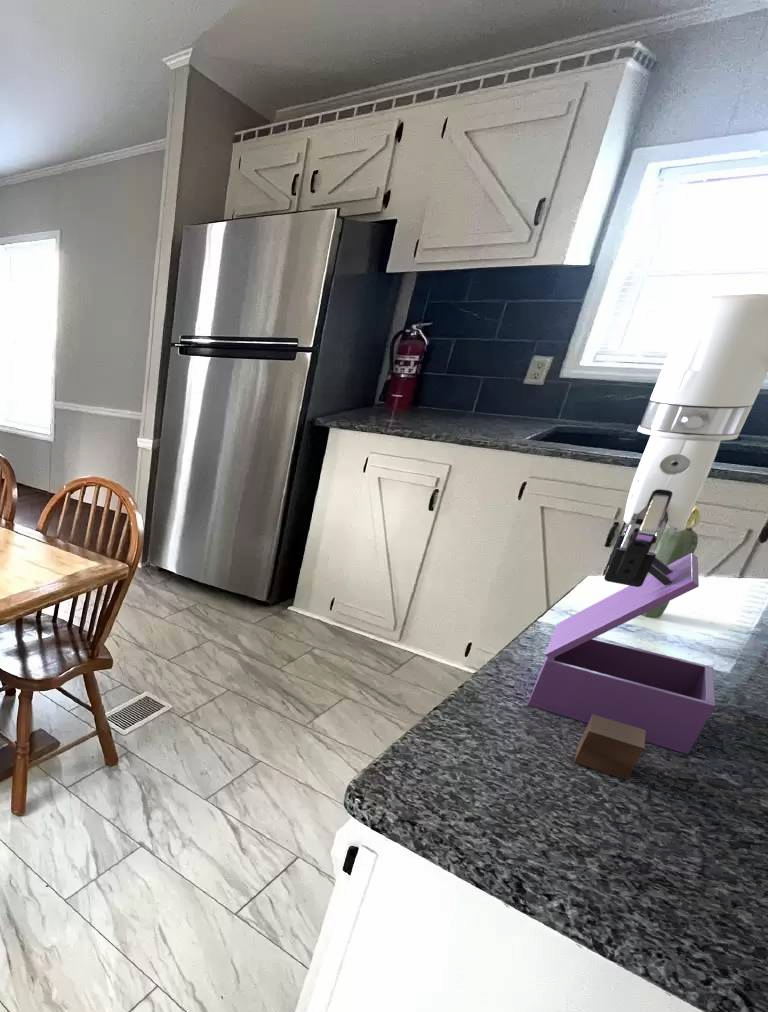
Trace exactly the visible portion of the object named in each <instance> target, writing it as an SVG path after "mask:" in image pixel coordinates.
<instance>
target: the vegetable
mask: <svg viewBox="0 0 768 1012" xmlns="http://www.w3.org/2000/svg"><path fill="white" fill-rule="evenodd" d="M698 505H699V504H698V503H697V502H696V503H695V505H694V508H693V510H692V512H691V515H690V517H689V520H688V522H687V524H686V527H685V529H684V530H682V531H679V532H675V531H674V528H669V527H668V528H665V530H664V532H663V534H662V536H661V538H660V541H659V543H658V545H657V548H656V550H655V552H654V554H656V557H657V558H658V559H659V560H661V561H662V562H663V563H664V564H666V565H667V566H668V565H669V564H671V563H673V562H675V561H677V560H679V559H681V558H683V557H685V556H687V555H688V554H690V553H693V554H694V553H695V551H696V549H697V546H698V542H699V537H698V534H697V532H695V530H694V529H693V528H695V527H697V526H698V525H699V523H700V522H701V512H700V510H699V508H698ZM649 575H651V574H650V573H649V572H648V574H647V576H649ZM647 576H646V577H647ZM669 604H670V601H668V602H666V603H664V604H662V605H660V606H658V607H656V608H654V609H652V610H650V611H648V612H646V613H644V614H642V615H641V616H642V617H645V618H652V619H657V618H660V617H662V616H663V614H664V612H665V611H666V609H667V608H668V606H669Z"/></svg>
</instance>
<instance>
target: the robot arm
mask: <svg viewBox="0 0 768 1012" xmlns="http://www.w3.org/2000/svg"><path fill="white" fill-rule="evenodd" d="M658 375H659V376H658V378H657V381H656V383H655V386H654V388H653V391H652V393H651V396H650V398H649V401H648V403H647V406H646V407H645V410H644V413H643V415H642V418H641V420H640V422H639V424H638V427H637V430H636V431H637V432H638V433H641V434H644V435H648V436H649V439H648V441H647V444H646V446H645V449H644V451H643V454H642V455H641V458H640V462H639V463H638V466H637V469H636V471H635V474H634V477H633V480H632V483H631V486H630V489H629V491H628V496H627V500H626V505H625V509H624V515H623V522H624V523H625V524H626V526H625V528H624V530H623V533H622V534H619V536H618V538H617V541H616V543H615V546H614V548H613V550H612V553H611V555H610V557H609V560H608V562H607V566H608V568H607V570H606V572H605V574H604V581H605V582H610V583H614V584H619V585H624V586H635V587H640V586H642V585H643V582H644V580H645V578H646V576H647V574H648V571H649V569H650V567H651V565H652V563H653V560H654V558H655V556H656V554H654V552H655V550H656V548H657V545H658V543H659V541H660V538H661V536H662V534H663V532H664V530H666V526H667V525H668V528H674V531H675V532H679V531H682V530H684V529H685V527H686V524H687V522H688V520H689V517H690V515H691V512H692V510H693V508H694V505H695V503H697V501H698V498H699V496H700V494H701V492H702V490H703V487H704V486H705V482H706V481H707V478H708V476H709V474H710V471H711V468H712V466H713V464H714V462H715V459H716V457H717V455H718V454H717V453H718V451H719V448H720V445H721V441H733V440H736V439H738V437H739V436H740V433H741V431H742V429H743V427H744V425H745V423H746V420H747V418H748V416H749V415H750V412H751V410H752V408H753V405H754V403H755V401H756V399H757V397H758V396H759V393H760V391H761V388H762V387H763V385H764V383H765V380H766V378H767V376H768V292H740V293H739V292H737V293H721V294H720V293H718V294H711V295H706V296H702V297H700V298H698V299H696V300H694V301H693V302H692V303H690V305H689V306H688V307H687V309H686V310H685V312H684V314H683V316H682V318H681V321H680V323H679V326H678V327H677V331H676V333H675V336H674V338H673V341H672V343H671V346H670V348H669V351H668V353H667V356H666V358H665V361H664V362H663V365H662V368H661V371H660V373H659V374H658Z"/></svg>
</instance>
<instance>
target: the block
mask: <svg viewBox="0 0 768 1012" xmlns="http://www.w3.org/2000/svg"><path fill="white" fill-rule="evenodd" d="M645 737H646V730H644V729H640V728H637V727H634V726H630V725H627V724H624V723H620V722H617V721H614V720H610V719H607V718H604V717H600V716H597V715H594V714H592V716H591V718H590V720H589V723H587V725H586V727H585V729H584V731H583V733H582V735H581V737H580V739H579V741H578V744H577V746H576V750H575V755H574V758H573V759H574V760H573V763H574V764H577V765H580V766H583V767H586V768H589V769H592V770H594V771H597V772H600V773H604V774H607V775H609V776H612V777H615V778H618V779H621V780H624V781H628V780H629V778H630V777H631V775H632V772H633V771H634V769H635V767H636V765H637V763H638V762H639V760H640V758H641V756H642V754H643V753H644V750H645V746H646V741H645Z"/></svg>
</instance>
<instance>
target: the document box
mask: <svg viewBox="0 0 768 1012" xmlns="http://www.w3.org/2000/svg"><path fill="white" fill-rule="evenodd" d="M715 690H716V689H715V675H714V666H711V665H706V664H702V663H698V662H694V661H690V660H686V659H682V658H678V657H674V656H670V655H667V654H663V653H657V652H653V651H649V650H645V649H640V648H636V647H634V646H633V647H632V646H628V645H626V644H625V645H624V644H620V643H616V642H612V641H608V640H603V639H600V638H597V637H595V638H593V639H591V640H589V641H587V642H585V643H583V644H581V645H579V646H577V647H575V648H573V649H571V650H569V651H566V652H564V653H562V654H560V655H558V656H556V657H554V658H552V659H549V658H548V657H547V656H546V655H545V659H544V661H543V663H542V664H541V668H540V670H539V673H538V676H537V678H536V680H535V683H534V686H533V689H532V691H531V693H530V697H529V700H528V702H527V703H526V705H527V706H529V707H533V708H537V709H540V710H543V711H545V712H549V713H552V714H556V715H558V716H562V717H565V718H567V719H568V718H569V719H572V720H575V721H579V722H581V723H584V724H588V723H589V720H590V718H591V716H592V714H594V715H597V716H600V717H604V718H607V719H610V720H614V721H617V722H620V723H624V724H627V725H630V726H634V727H637V728H640V729H644V730H646V737H645V743H650V744H653V745H656V746H659V747H662V748H666V749H669V750H672V751H675V752H678V753H681V754H684V755H689V753H690V751H691V750H692V748H693V747H694V745H695V743H696V741H697V739H698V738H699V736H700V734H701V733H702V731H703V729H704V728H705V726H706V724H707V722H708V720H709V718H711V715H712V713H713V712H714V710H715V708H716V693H715V692H716V691H715Z"/></svg>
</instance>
